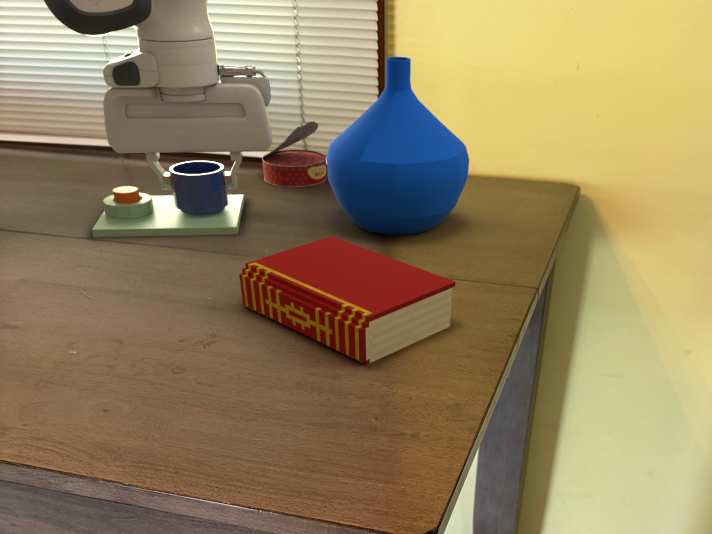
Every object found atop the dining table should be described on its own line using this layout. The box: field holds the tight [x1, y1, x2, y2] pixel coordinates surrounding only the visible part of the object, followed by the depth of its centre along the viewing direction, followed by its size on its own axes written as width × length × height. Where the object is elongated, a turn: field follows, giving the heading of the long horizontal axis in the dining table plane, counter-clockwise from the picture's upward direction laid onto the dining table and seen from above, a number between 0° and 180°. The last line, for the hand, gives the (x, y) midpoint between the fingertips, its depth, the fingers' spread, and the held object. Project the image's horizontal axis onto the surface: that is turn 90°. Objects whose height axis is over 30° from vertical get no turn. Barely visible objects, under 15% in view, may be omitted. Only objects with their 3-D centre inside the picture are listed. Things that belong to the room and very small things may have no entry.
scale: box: [91, 192, 245, 238], centre depth 101 cm, size 18×14×3 cm
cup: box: [168, 160, 229, 215], centre depth 99 cm, size 7×7×5 cm
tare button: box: [112, 185, 140, 204], centre depth 99 cm, size 3×3×2 cm
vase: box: [325, 56, 470, 236], centre depth 96 cm, size 18×18×19 cm
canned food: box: [261, 121, 328, 188], centre depth 116 cm, size 11×10×10 cm
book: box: [238, 235, 456, 366], centre depth 77 cm, size 18×13×5 cm
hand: (199, 188), depth 99 cm, fingers closed on cup, 7 cm apart
